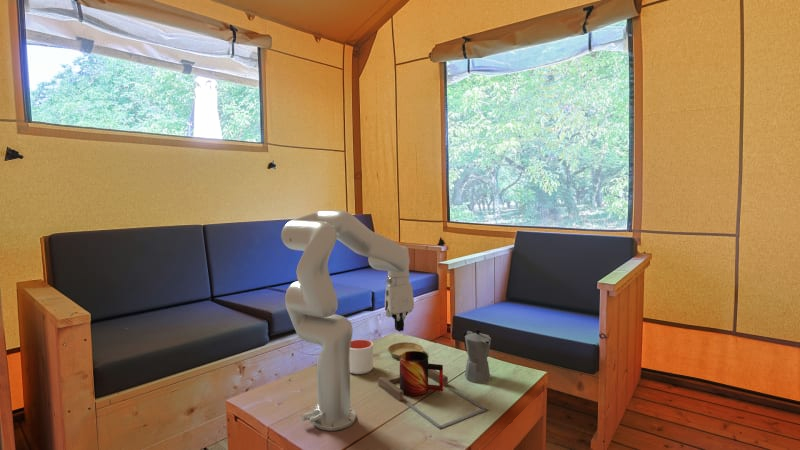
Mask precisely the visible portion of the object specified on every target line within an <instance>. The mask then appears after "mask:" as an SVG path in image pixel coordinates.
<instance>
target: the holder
mask: <svg viewBox="0 0 800 450" xmlns="http://www.w3.org/2000/svg"><path fill="white" fill-rule="evenodd" d="M428 379H431V380H433V381H434V382H436V383H438V384H439V370H431V369H428ZM448 381H449V380H448V376H447V375H445V374H443V387H447V386H448V384H449V383H448ZM398 382H399V383H400V374H399V375H396V376H392V377H388V378H385V377H384V376H381V377H380V376H379V377H378V381H377V386H378V387H379V388H381V389H382V390H384V391H385V392H386V393H388V395H390V396H392V397H393V398H394V399H396V400H397V401H398V402H402V401H404V395H403V390H401V389H400V387H399V386H397V385H396V384H395V383H398Z"/></svg>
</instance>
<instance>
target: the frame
mask: <svg viewBox="0 0 800 450" xmlns="http://www.w3.org/2000/svg"><path fill="white" fill-rule="evenodd" d="M448 390H449V391H451V392H453V393H454V394H455V395H457V396H459V397H461V398H463V399H464V400H466V401H468V402H469V403H471V404H472V405H475V406H476V407H477V408H479V410H476V411H474V412H471V413H469V414H466V415H464V416H462V417H459V418H456V419H453V420H451V421H448V422H446V423H444V424H439V423H438V422H437V421H435V420H433V418H431V417H430V416H427V414H426V413H424V412H422V410H420V409H418V408H417V407H415V406H414V405H413V404H412V403H410V402H406V403H405V405H406V406H408V407H409V408H410V409H412V410H413V411H415V413H417V414H418V415H420V416H421V417H422V418H424V419H425V420H427V422H429V423H431V425H434V427H436V428H438V429H439V430H442V429H444V428H447V427H449V426H452V425H454V424H456V423H460V422H461V421H464V420H466V419H469V418H471V417H475V416H477V415H479V414H481V413H485V412H487V411H488V410H489V409H488V408H487V407H485V406H483V405H481V404H480V403H478V402H476V401H475V400H473V399H471V398H469V396H466V395H464V394H463V393H461V392H459V391H457V390H455V388H452V387H450V388H448Z"/></svg>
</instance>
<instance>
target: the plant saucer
mask: <svg viewBox="0 0 800 450" xmlns="http://www.w3.org/2000/svg"><path fill="white" fill-rule="evenodd" d="M387 351H388V353H389V354H390V355H391V356H392V357H394V358H395V359H399V360H400V355H401V354H402V353H404V352H408V351H420V352H424V347H423V346H422V345H420V344H418V343H415V342H406V341H405V342H398V343H397V342H396V343H394V344H391V345H389V346H388V347H387Z"/></svg>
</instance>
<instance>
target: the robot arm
mask: <svg viewBox="0 0 800 450" xmlns="http://www.w3.org/2000/svg"><path fill="white" fill-rule="evenodd" d="M280 237H281V241H282V242H283V244H284V246H285V247H286V248H288V249H290V250H293V251H302V255H301V257H300V260H299V261H298V263H297V267H296V279H297V280H296V281H294V282H292V283H291V284H290V285H289V286H288V288H287V289H286V293H285V295H284V296H285V297H284V302H285V303H284V304H285V309H286V310H287V313H288V316H289V318H290V321H291V323H292V326H293V328H294V330H295V332H296V334H297V336H298V337H299V338H300V339H301V340H302V341H304V342H307V343H308V344H309V343H310V344H313V345H318V346H320V347H322V350H321V352H320V353H319V355H318V357H317V360H316V375H317V376H316V379H317V380H316V387H317V404H316V405H314V409H312V410H311V411H309V412H306V413H302V414H301V419H302V421H303V422H305V421H309V423H310V424H311V423H313V425H314V426H315V427H316V428H318V429H319V430H322V431H329V432H330V431H340V430H344V429H346V428H348V427H350V426H352V425H353V424H354V423H355V421H356V418H357V415H356V411H355V409H353V408H351V374H350V345H351V341H352V340H353V334H354V333H353V331H354V330H353V324H352V323H351V321H350V320H349V319H348V318H347V317H345V316H342V315H340V314H336V312H337V310H338V304H339V303H338V298H337V293H336V291H335V288H334V285H333V282H332V279H331V276H330V271H329V267H328V266H329V265H328V264H329V263H328V262H329V259H330V256H331V254H332V251H333V250H334V247H335V246H336V242H337V241H339V242H340V243H342V244H343V245H345V246H346V247H347V248H348V249H349V250H350V251H352V252H354V253H355V254H358V255H360V256H364V257H366V258H367V259H368V264H369V266H370V267H371V268H372V269H373V270H377V271H384V272H387V278H386V279H385V280H384V281H385V284H386V287H385V292H384V310H385V317H387V318H392V319H393V320H394V328H395V330H396V331H398V332H403V331H404V330H405V329H404V328H405V320H406V318H407V315H408V314H410V313H412V312H413V310H414V308H415V300H414V299H415V298H414V293H413V292H414V290H413V286H412V283H411V282H410V263H411V261H410V260H411V259H410V255H409V253H410V252H409V248H408V247H407V246H405V245H400V244H399V243H397V242H396V241H394V240H392V239H390V238H388V237H385V236H383V235H381V234H379V233H377V232H374V231H372V230H371V229H370V228H368V227H367V226H366V225H365V224H364V223H362V221H360V220H359V219H358V218H357V217H356V216H354V215H353V214H352V213H351V212H348V211H346V210H329V209H328V210H326V209H325V210H324V209H323V210H318V211H315V212H311V213H309V214H305V215H302V216H300V217H297V218H294V219H291V220H289V221H288V222H287V223H286V224H285V225H284V226H283V227H282V230H281V233H280Z"/></svg>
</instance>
